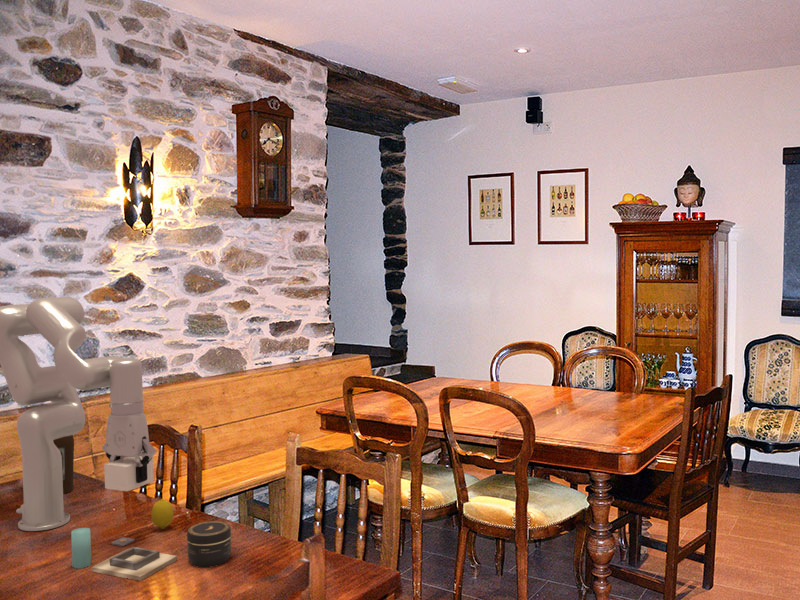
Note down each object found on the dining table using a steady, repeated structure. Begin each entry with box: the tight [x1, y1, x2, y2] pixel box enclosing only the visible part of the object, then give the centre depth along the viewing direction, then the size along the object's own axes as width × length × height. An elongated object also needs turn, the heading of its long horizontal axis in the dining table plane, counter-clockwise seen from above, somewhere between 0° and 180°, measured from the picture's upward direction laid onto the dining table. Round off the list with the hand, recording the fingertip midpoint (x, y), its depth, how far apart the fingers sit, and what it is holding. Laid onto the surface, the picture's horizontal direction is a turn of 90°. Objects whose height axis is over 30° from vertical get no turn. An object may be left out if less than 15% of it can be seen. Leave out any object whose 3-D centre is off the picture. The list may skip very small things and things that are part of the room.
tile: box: [110, 536, 136, 547], centre depth 179 cm, size 4×4×1 cm
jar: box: [186, 520, 232, 568], centre depth 168 cm, size 10×10×8 cm
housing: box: [103, 456, 155, 492], centre depth 178 cm, size 7×9×6 cm
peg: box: [70, 527, 92, 569], centre depth 166 cm, size 4×4×8 cm
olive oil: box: [53, 435, 75, 495], centre depth 221 cm, size 11×11×25 cm
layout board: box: [91, 546, 178, 582], centre depth 165 cm, size 14×12×2 cm
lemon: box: [150, 498, 175, 530], centre depth 188 cm, size 6×6×8 cm
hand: (129, 479), depth 178 cm, fingers closed on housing, 7 cm apart
